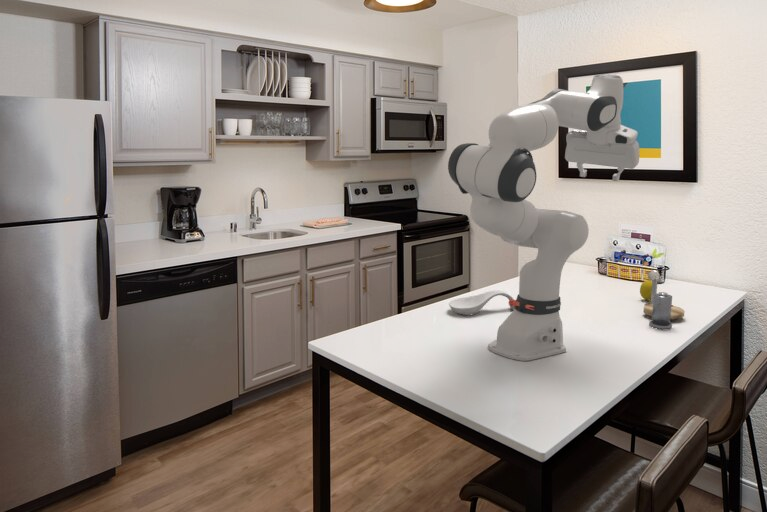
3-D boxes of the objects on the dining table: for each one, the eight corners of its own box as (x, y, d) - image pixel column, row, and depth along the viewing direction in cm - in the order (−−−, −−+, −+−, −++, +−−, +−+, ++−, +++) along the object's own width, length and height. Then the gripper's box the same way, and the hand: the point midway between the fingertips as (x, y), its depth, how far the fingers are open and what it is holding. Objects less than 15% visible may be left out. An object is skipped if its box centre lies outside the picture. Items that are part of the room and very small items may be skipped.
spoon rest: (454, 319, 184) (454, 298, 183) (444, 309, 195) (444, 290, 194) (521, 314, 188) (522, 294, 187) (507, 305, 199) (508, 286, 198)
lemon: (640, 302, 199) (642, 281, 198) (638, 298, 204) (639, 277, 203) (657, 303, 198) (658, 281, 196) (654, 299, 203) (656, 278, 201)
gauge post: (655, 309, 191) (658, 271, 188) (644, 306, 194) (647, 269, 191) (661, 307, 193) (664, 270, 191) (650, 304, 196) (653, 268, 194)
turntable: (673, 321, 173) (673, 315, 173) (636, 312, 183) (636, 307, 182) (690, 314, 181) (691, 308, 180) (654, 306, 190) (654, 301, 190)
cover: (665, 331, 168) (668, 297, 166) (645, 326, 173) (647, 292, 171) (675, 326, 172) (678, 293, 170) (655, 322, 177) (657, 289, 175)
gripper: (562, 132, 160) (560, 177, 166) (637, 139, 148) (632, 187, 155) (570, 126, 164) (568, 170, 171) (643, 132, 152) (638, 179, 159)
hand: (599, 178), depth 163 cm, fingers open, 8 cm apart
